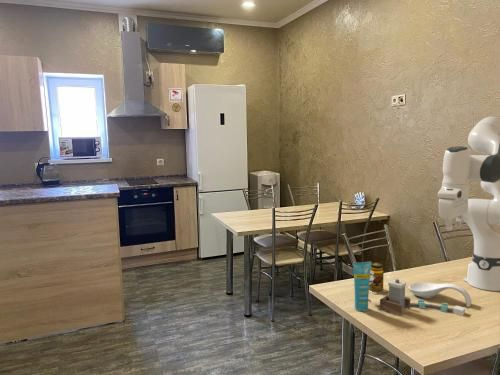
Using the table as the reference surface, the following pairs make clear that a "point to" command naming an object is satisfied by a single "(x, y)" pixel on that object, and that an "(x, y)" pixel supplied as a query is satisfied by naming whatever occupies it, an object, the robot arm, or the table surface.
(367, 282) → the tube
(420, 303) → the clip
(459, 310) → the cable
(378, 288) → the condiment
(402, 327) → the table surface
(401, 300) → the grey block with knob
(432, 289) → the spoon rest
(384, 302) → the holder
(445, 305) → the clip
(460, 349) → the table surface
